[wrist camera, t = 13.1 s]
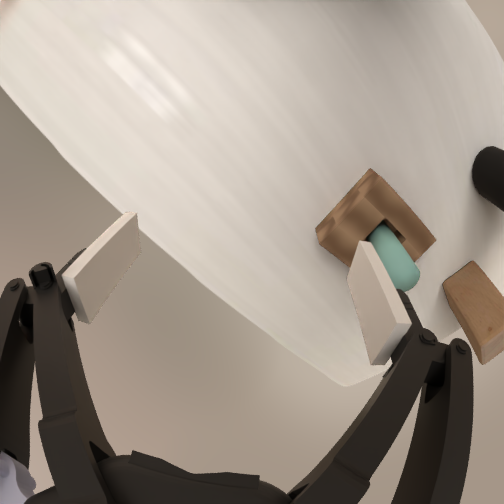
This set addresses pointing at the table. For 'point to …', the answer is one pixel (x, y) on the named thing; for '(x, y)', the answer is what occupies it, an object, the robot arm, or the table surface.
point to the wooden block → (477, 310)
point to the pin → (394, 257)
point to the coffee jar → (490, 175)
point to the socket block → (371, 220)
